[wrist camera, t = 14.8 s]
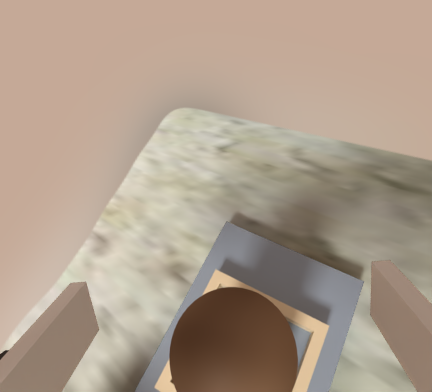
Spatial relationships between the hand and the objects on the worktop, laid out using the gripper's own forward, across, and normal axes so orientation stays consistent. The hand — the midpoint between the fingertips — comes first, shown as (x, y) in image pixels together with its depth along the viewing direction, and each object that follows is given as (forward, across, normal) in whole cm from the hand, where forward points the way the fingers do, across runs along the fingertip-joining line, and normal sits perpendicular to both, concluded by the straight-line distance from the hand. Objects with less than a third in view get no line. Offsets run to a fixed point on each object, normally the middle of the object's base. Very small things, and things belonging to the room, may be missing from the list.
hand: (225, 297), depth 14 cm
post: (+6, 0, -9) cm, 11 cm away
